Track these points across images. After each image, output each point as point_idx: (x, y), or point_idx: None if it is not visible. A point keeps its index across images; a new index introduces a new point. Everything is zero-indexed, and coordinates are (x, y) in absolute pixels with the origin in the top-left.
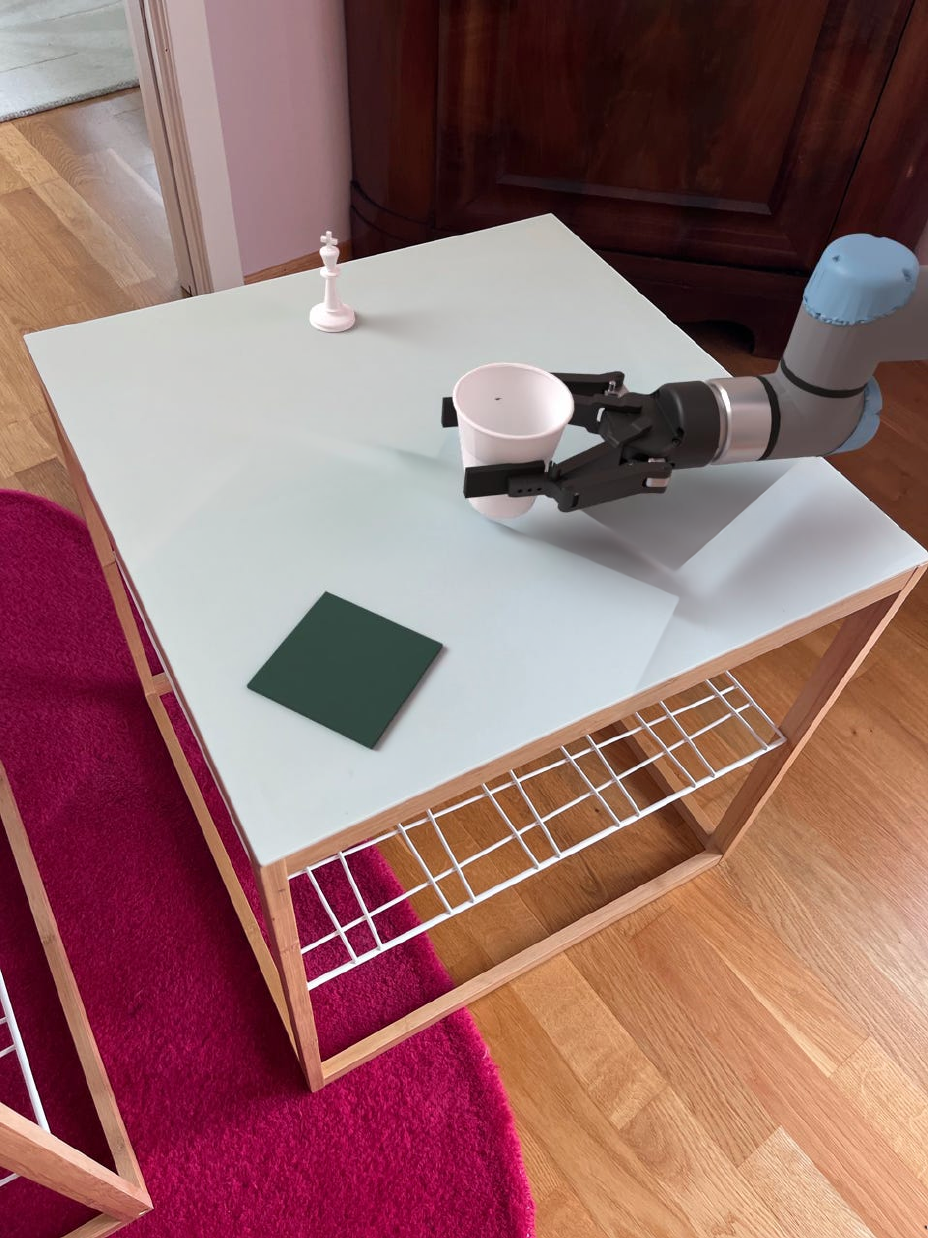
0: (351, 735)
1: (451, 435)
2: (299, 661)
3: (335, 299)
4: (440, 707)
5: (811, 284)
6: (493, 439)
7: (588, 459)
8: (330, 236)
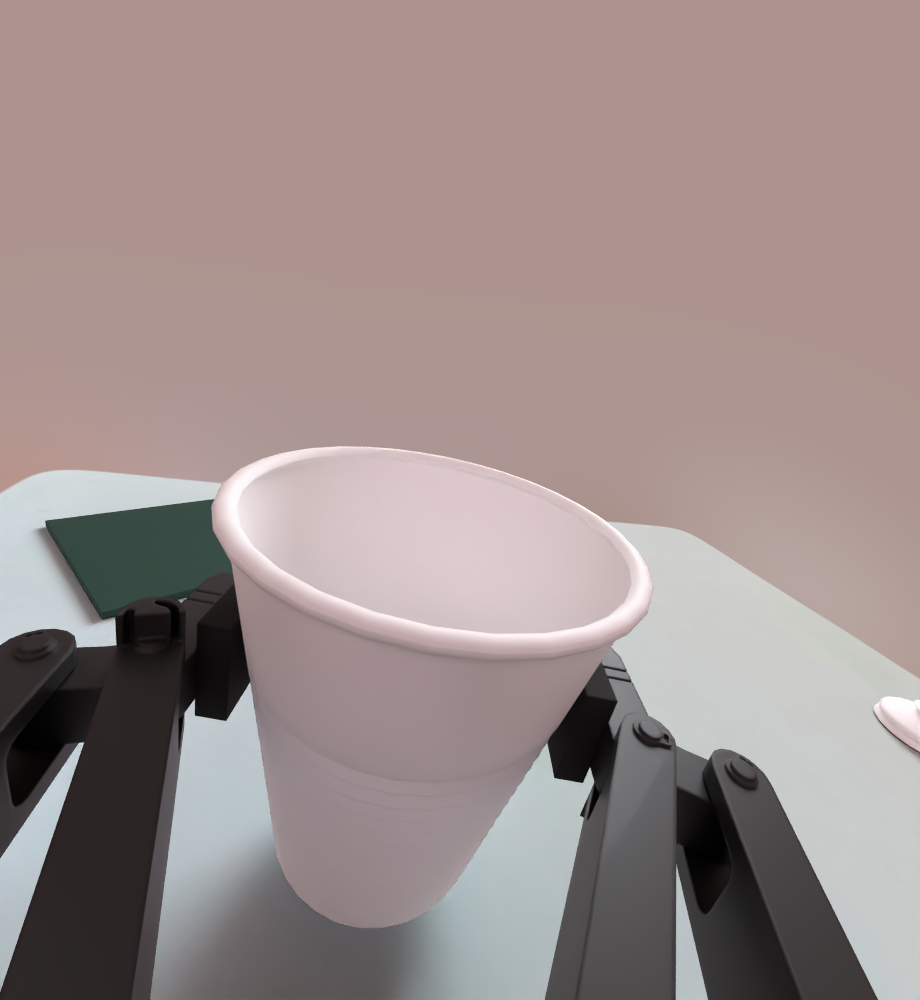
0: (82, 516)
1: None
2: None
3: None
4: (6, 583)
5: None
6: (312, 472)
7: (83, 792)
8: None
